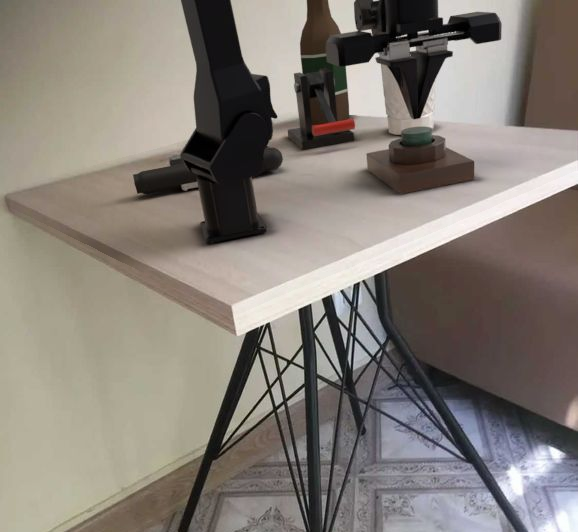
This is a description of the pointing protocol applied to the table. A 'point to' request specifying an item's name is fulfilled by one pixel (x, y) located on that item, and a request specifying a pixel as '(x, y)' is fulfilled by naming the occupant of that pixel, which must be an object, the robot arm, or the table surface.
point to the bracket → (304, 133)
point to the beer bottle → (322, 56)
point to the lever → (325, 108)
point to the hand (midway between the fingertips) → (415, 118)
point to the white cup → (403, 106)
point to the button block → (420, 166)
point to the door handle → (188, 174)
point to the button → (416, 136)
